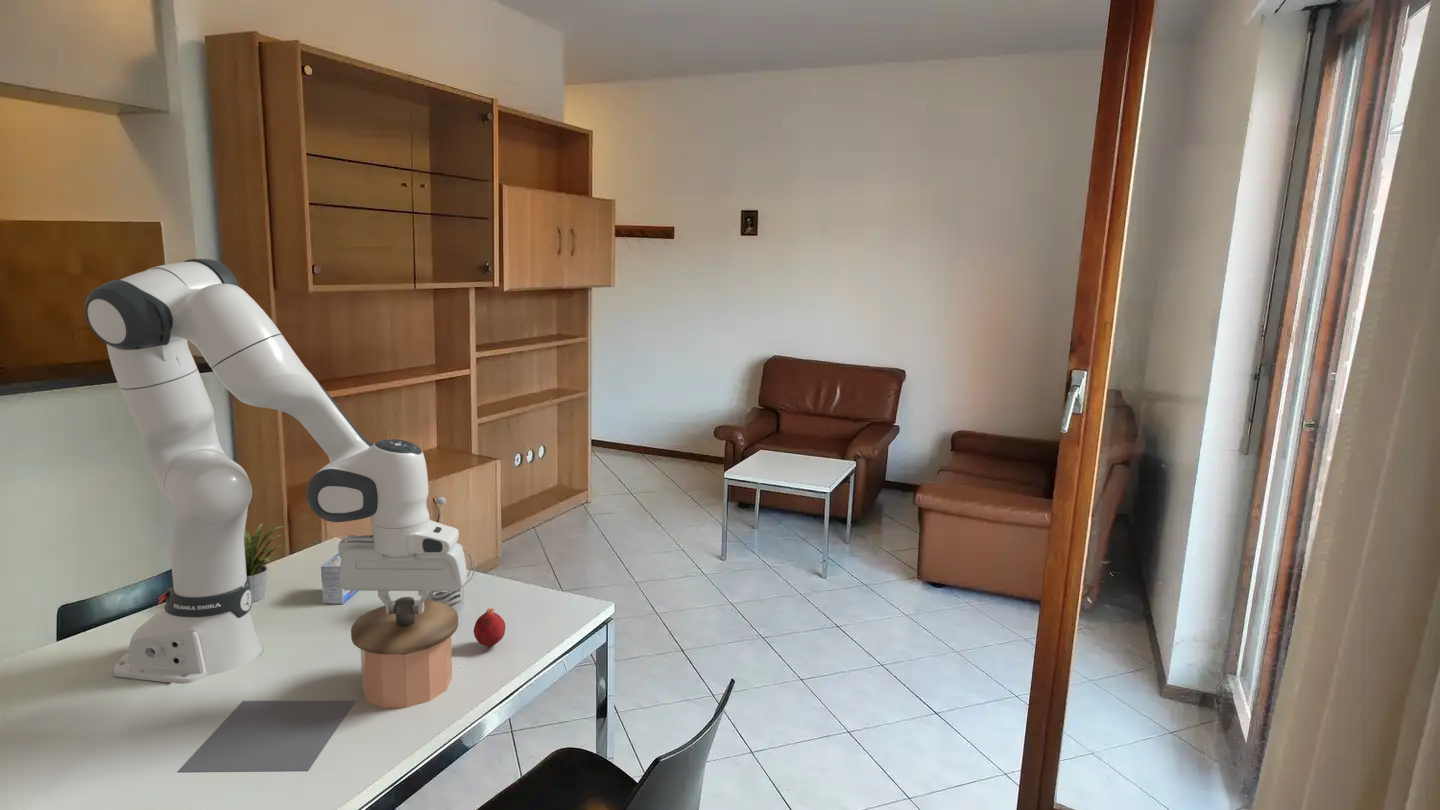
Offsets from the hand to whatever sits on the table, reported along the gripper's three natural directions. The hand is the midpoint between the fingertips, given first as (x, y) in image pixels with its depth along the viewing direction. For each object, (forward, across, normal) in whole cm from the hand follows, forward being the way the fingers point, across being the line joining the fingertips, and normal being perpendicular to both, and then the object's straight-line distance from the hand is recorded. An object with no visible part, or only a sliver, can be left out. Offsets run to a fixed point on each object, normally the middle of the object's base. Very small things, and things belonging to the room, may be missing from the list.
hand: (405, 612), depth 134 cm
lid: (+3, 0, 0) cm, 3 cm away
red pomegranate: (+14, +11, +14) cm, 23 cm away
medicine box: (+14, -25, +36) cm, 46 cm away
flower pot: (+14, 0, 0) cm, 14 cm away
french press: (+14, -1, +30) cm, 33 cm away
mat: (+14, -16, -14) cm, 25 cm away
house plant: (+14, -42, +35) cm, 57 cm away
